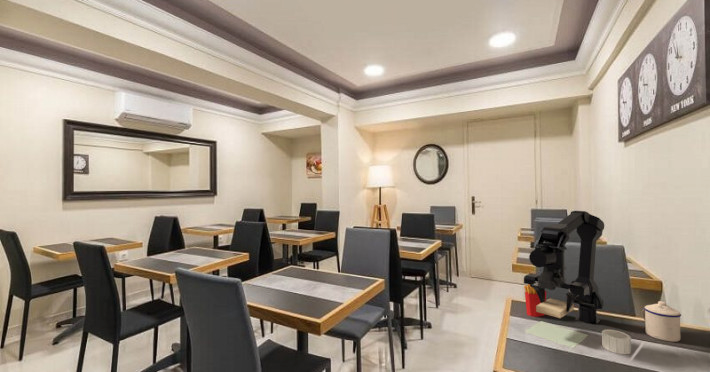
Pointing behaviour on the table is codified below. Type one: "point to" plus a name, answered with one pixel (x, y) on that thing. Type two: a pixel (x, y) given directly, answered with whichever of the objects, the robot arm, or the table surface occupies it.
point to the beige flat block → (553, 308)
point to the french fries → (532, 301)
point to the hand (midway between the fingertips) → (555, 308)
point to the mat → (556, 334)
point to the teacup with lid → (662, 322)
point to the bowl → (616, 341)
